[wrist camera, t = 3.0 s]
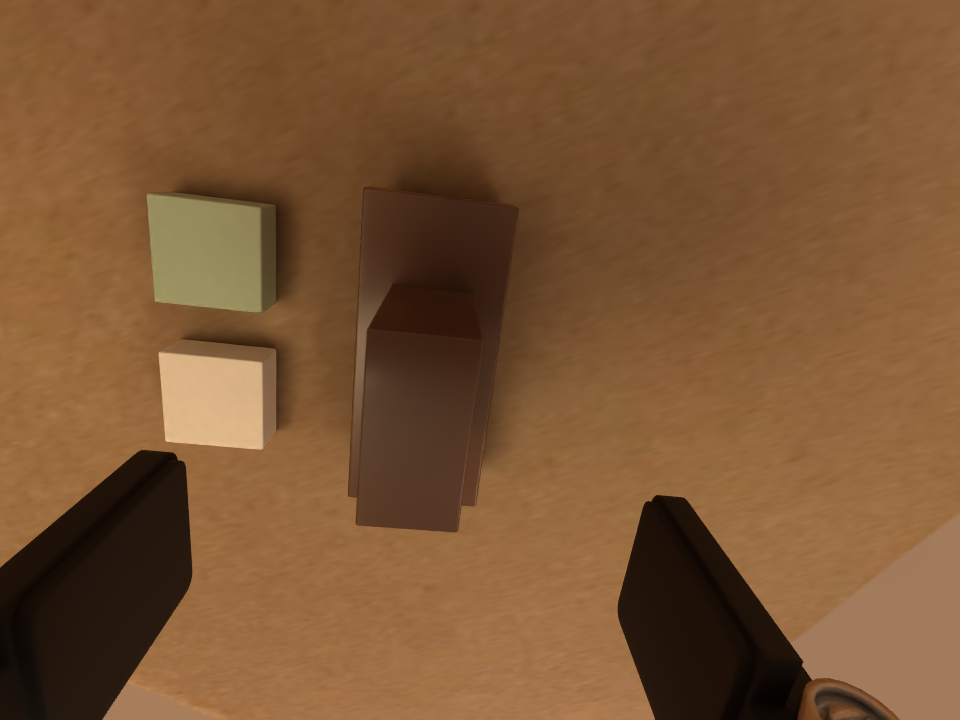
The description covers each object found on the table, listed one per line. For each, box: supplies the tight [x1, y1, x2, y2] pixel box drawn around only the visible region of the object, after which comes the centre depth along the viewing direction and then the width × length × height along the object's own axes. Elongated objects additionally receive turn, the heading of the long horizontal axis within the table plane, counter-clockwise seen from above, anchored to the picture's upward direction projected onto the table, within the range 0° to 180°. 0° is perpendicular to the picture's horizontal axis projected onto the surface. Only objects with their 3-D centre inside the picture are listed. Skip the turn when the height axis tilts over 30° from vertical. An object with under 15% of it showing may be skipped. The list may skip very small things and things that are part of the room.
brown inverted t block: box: [348, 186, 518, 532], centre depth 19 cm, size 5×12×9 cm, turn 173°
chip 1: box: [147, 192, 276, 313], centre depth 20 cm, size 4×4×2 cm
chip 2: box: [159, 339, 276, 450], centre depth 22 cm, size 4×4×2 cm
